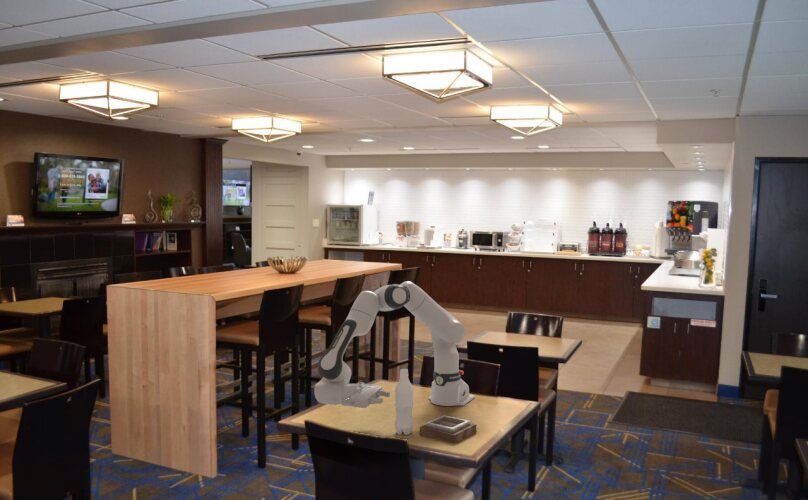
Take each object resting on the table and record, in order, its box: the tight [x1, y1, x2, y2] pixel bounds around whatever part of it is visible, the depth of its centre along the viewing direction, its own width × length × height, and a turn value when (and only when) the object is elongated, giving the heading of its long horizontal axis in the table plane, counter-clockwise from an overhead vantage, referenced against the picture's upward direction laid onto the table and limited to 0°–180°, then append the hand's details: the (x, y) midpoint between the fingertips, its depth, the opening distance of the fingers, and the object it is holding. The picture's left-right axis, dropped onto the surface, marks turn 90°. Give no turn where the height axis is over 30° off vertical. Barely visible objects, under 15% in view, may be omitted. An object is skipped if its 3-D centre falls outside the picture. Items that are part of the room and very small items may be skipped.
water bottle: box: [394, 368, 414, 436], centre depth 253 cm, size 7×7×25 cm
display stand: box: [419, 414, 477, 444], centre depth 253 cm, size 16×16×4 cm
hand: (385, 397), depth 255 cm, fingers open, 8 cm apart
